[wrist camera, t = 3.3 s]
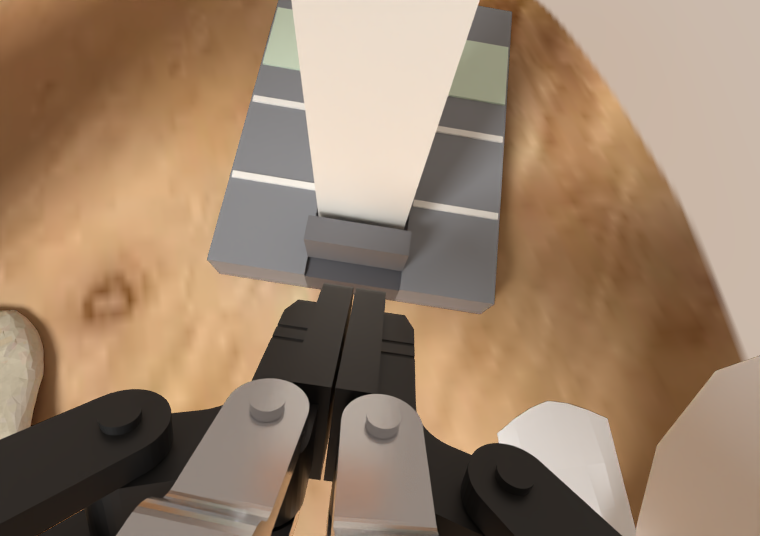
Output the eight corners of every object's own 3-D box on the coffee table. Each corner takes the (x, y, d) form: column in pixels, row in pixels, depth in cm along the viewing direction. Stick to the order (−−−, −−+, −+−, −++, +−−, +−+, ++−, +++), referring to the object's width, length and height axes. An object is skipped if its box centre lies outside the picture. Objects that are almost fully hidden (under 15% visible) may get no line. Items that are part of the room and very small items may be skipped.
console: (219, 273, 20) (191, 241, 16) (290, 4, 25) (281, -67, 21) (480, 314, 21) (511, 292, 17) (499, 41, 26) (526, -24, 22)
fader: (317, 224, 19) (267, -145, 6) (332, 150, 20) (315, -286, 8) (402, 237, 19) (516, -100, 6) (412, 163, 20) (525, -245, 8)
